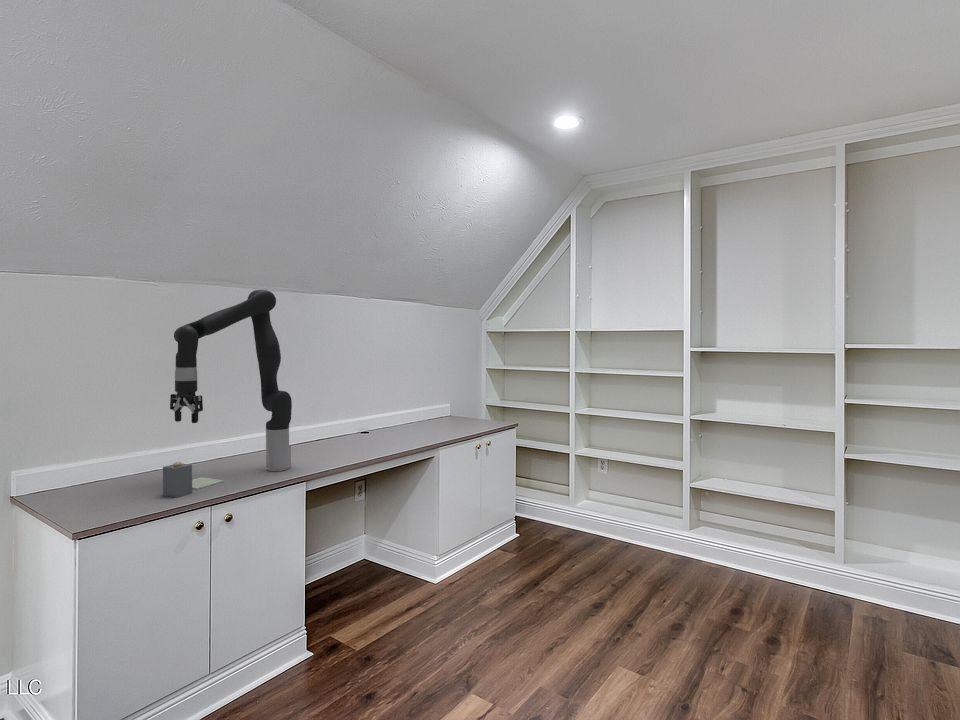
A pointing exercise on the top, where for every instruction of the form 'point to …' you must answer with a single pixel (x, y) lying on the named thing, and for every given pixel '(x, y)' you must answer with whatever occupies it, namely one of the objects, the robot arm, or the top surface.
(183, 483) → the cover
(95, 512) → the top surface
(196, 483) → the mat
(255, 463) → the top surface
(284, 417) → the robot arm
